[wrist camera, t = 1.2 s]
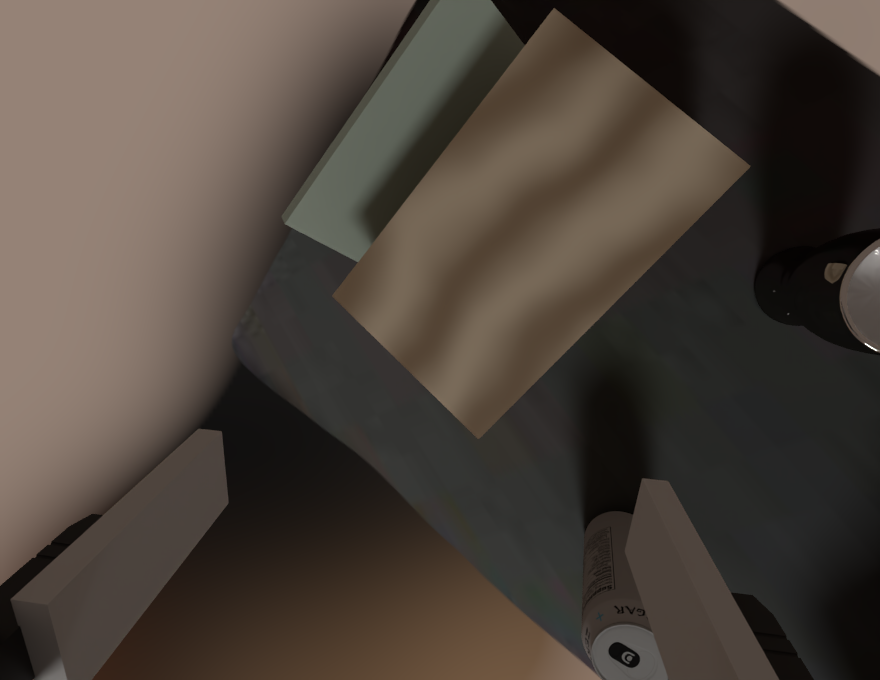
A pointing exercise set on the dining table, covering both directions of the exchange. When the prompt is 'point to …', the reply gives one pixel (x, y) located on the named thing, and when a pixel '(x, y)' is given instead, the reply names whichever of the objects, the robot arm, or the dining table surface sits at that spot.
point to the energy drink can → (615, 606)
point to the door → (404, 123)
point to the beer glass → (827, 290)
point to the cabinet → (534, 223)
